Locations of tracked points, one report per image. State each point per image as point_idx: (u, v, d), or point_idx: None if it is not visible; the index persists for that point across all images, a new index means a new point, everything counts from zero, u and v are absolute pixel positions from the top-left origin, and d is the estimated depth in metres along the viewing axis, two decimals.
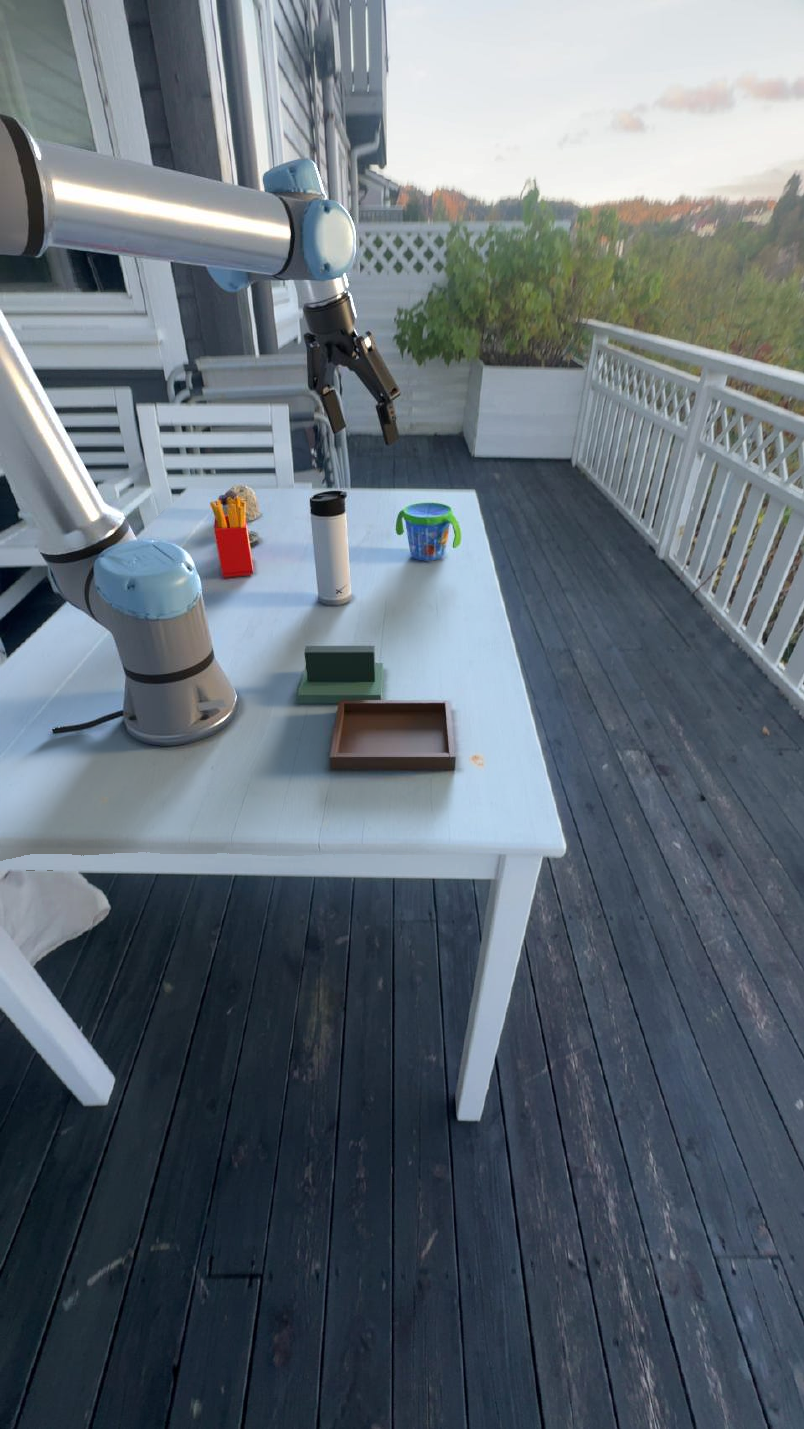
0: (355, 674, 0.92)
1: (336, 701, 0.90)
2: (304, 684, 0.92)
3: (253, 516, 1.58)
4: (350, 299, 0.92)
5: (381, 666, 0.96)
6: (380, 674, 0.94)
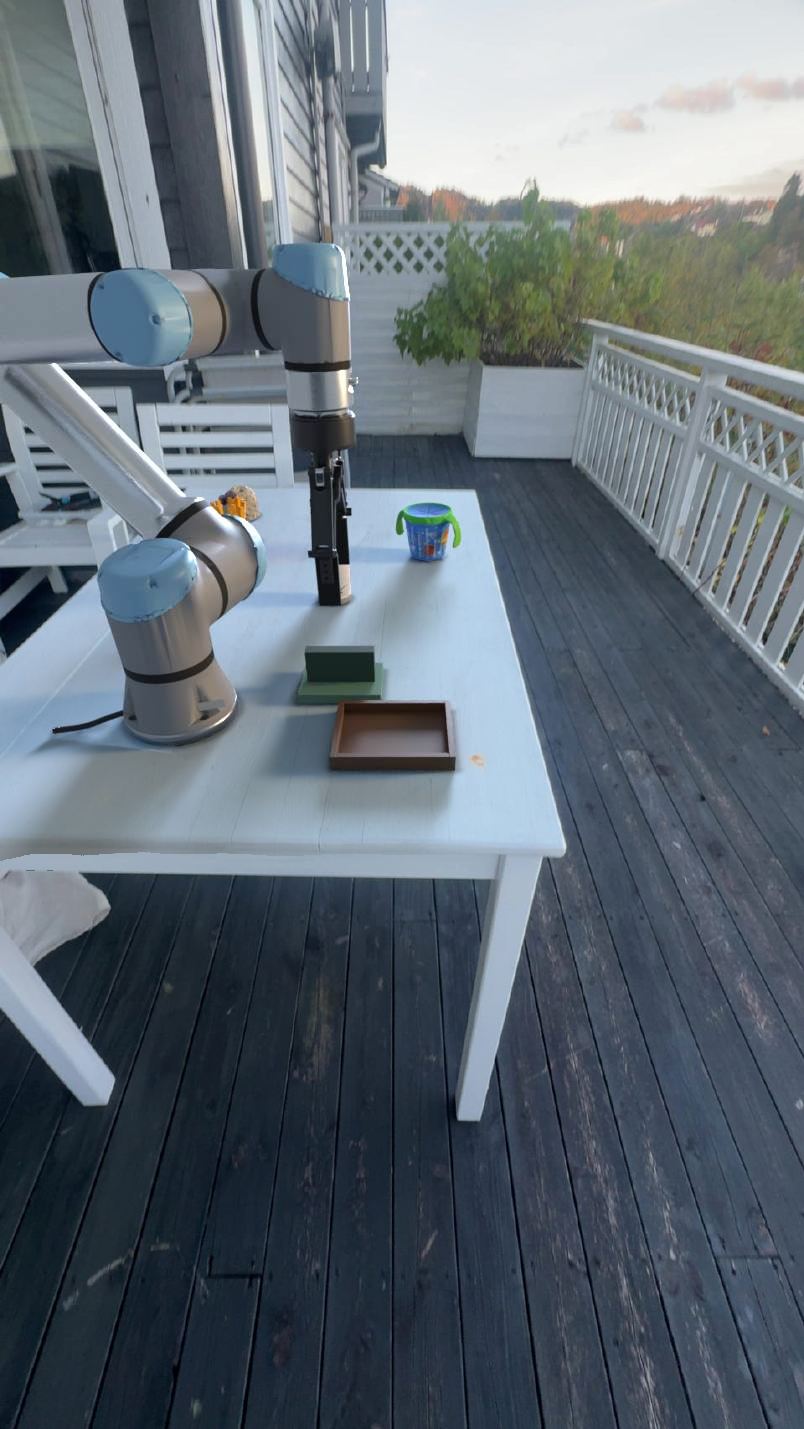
0: (355, 674, 0.92)
1: (336, 701, 0.90)
2: (304, 684, 0.92)
3: (253, 516, 1.58)
4: (336, 424, 0.70)
5: (381, 666, 0.96)
6: (380, 674, 0.94)
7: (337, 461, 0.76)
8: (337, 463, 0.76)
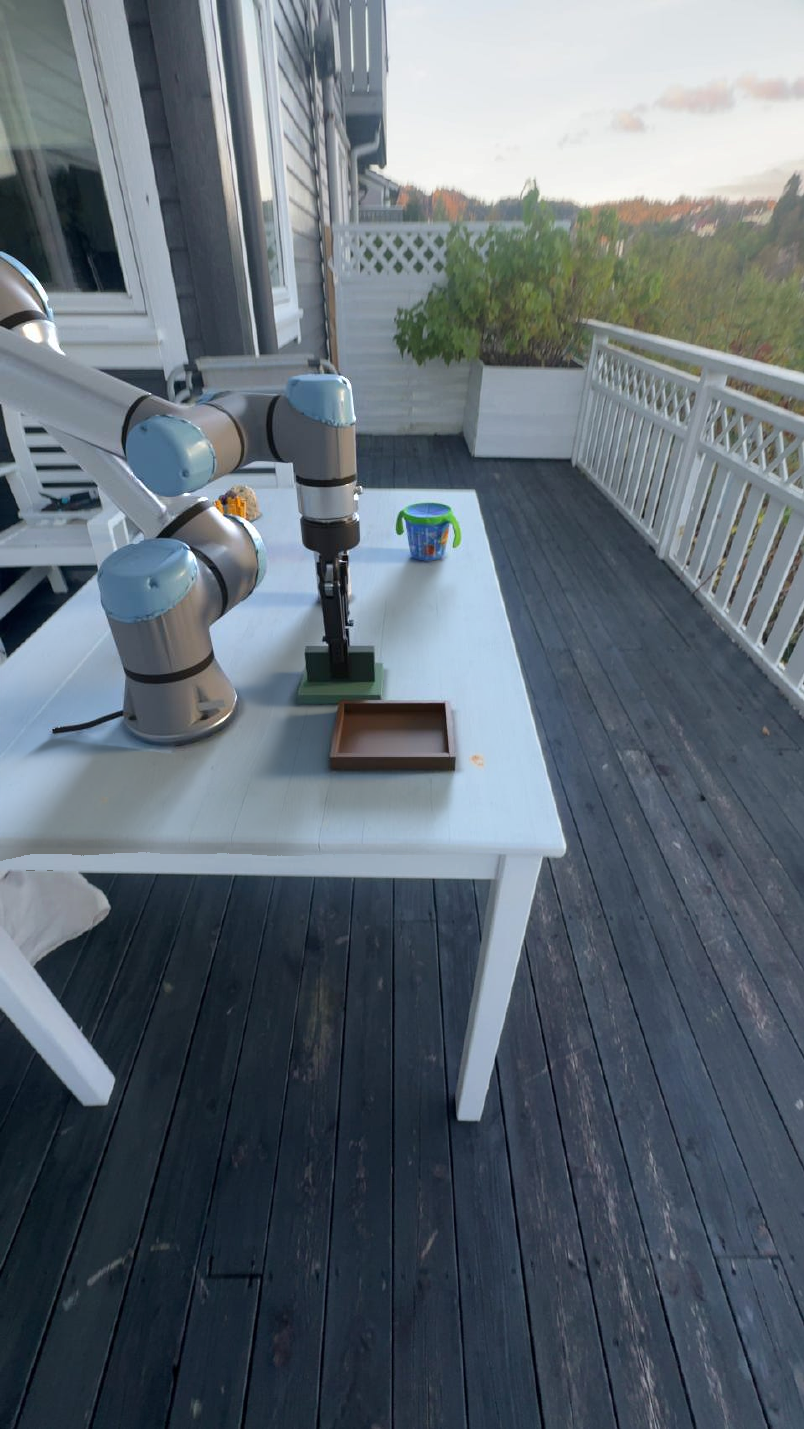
0: (355, 674, 0.92)
1: (336, 701, 0.90)
2: (304, 684, 0.92)
3: (253, 516, 1.58)
4: (342, 529, 0.77)
5: (381, 666, 0.96)
6: (380, 674, 0.94)
7: (343, 554, 0.83)
8: (342, 557, 0.83)
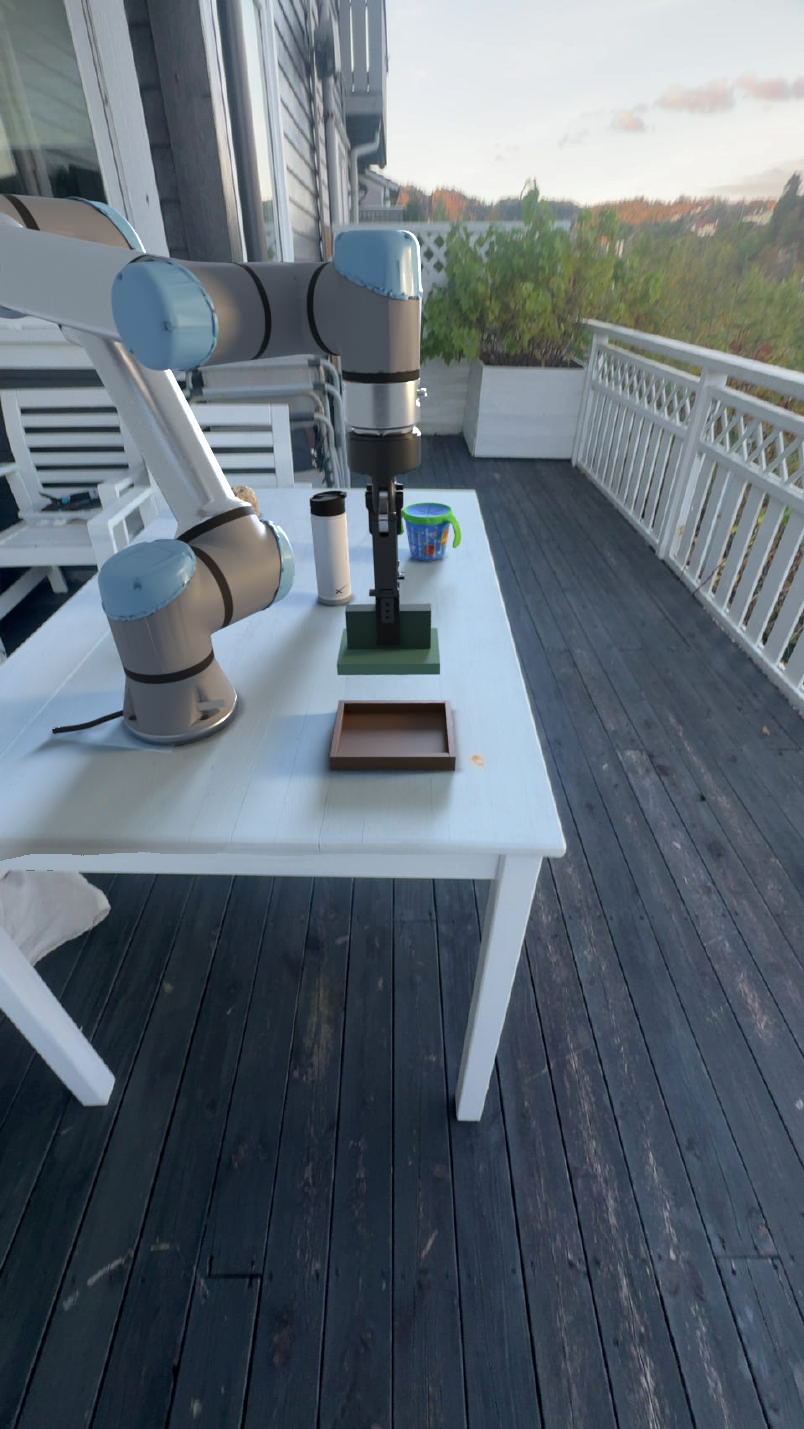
0: (406, 639, 0.74)
1: (384, 672, 0.73)
2: (343, 652, 0.75)
3: None
4: (402, 444, 0.60)
5: (436, 631, 0.79)
6: (436, 640, 0.77)
7: (396, 483, 0.66)
8: (396, 487, 0.66)
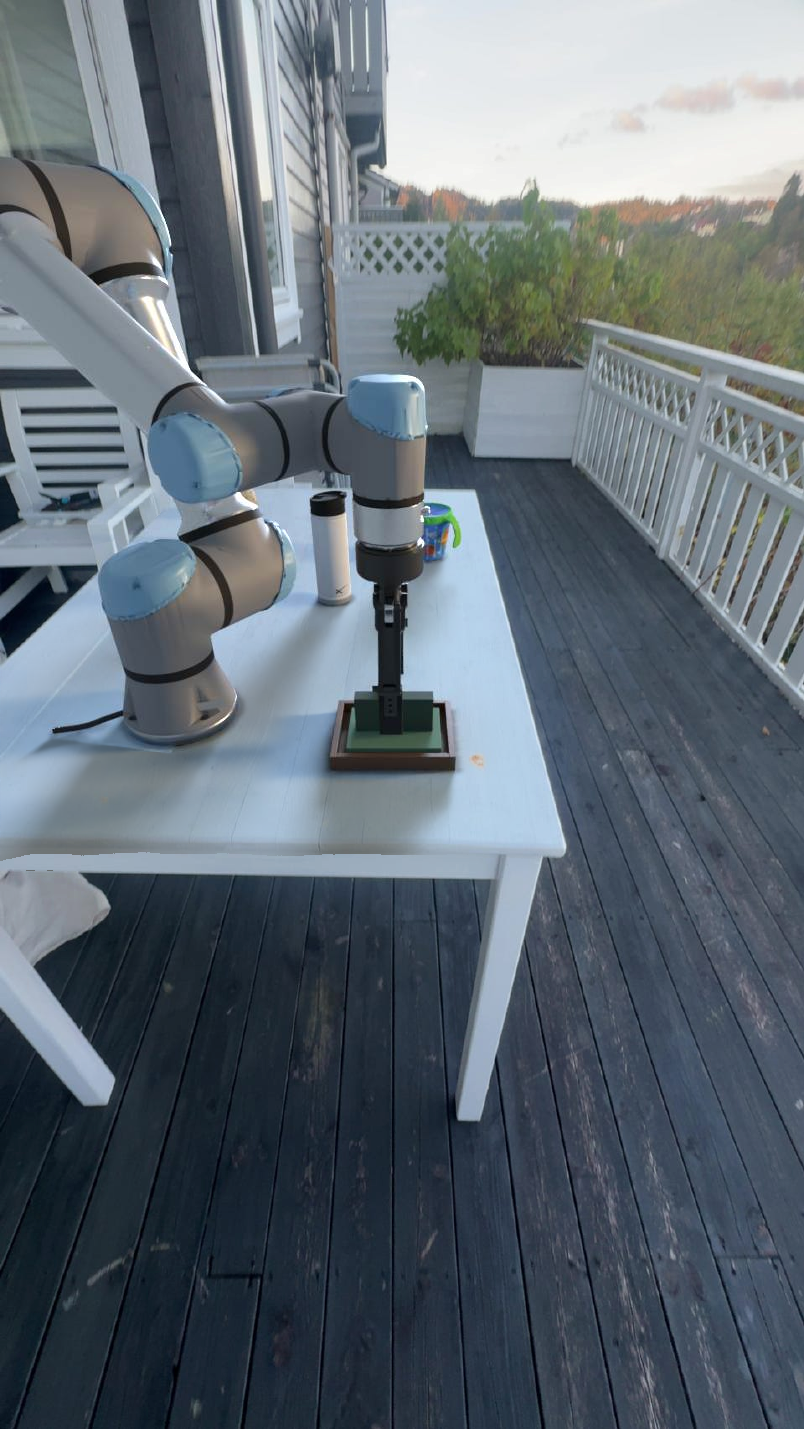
0: (410, 723, 0.80)
1: None
2: (352, 734, 0.81)
3: None
4: (407, 557, 0.65)
5: (437, 712, 0.85)
6: (437, 722, 0.83)
7: (401, 585, 0.72)
8: (401, 587, 0.72)
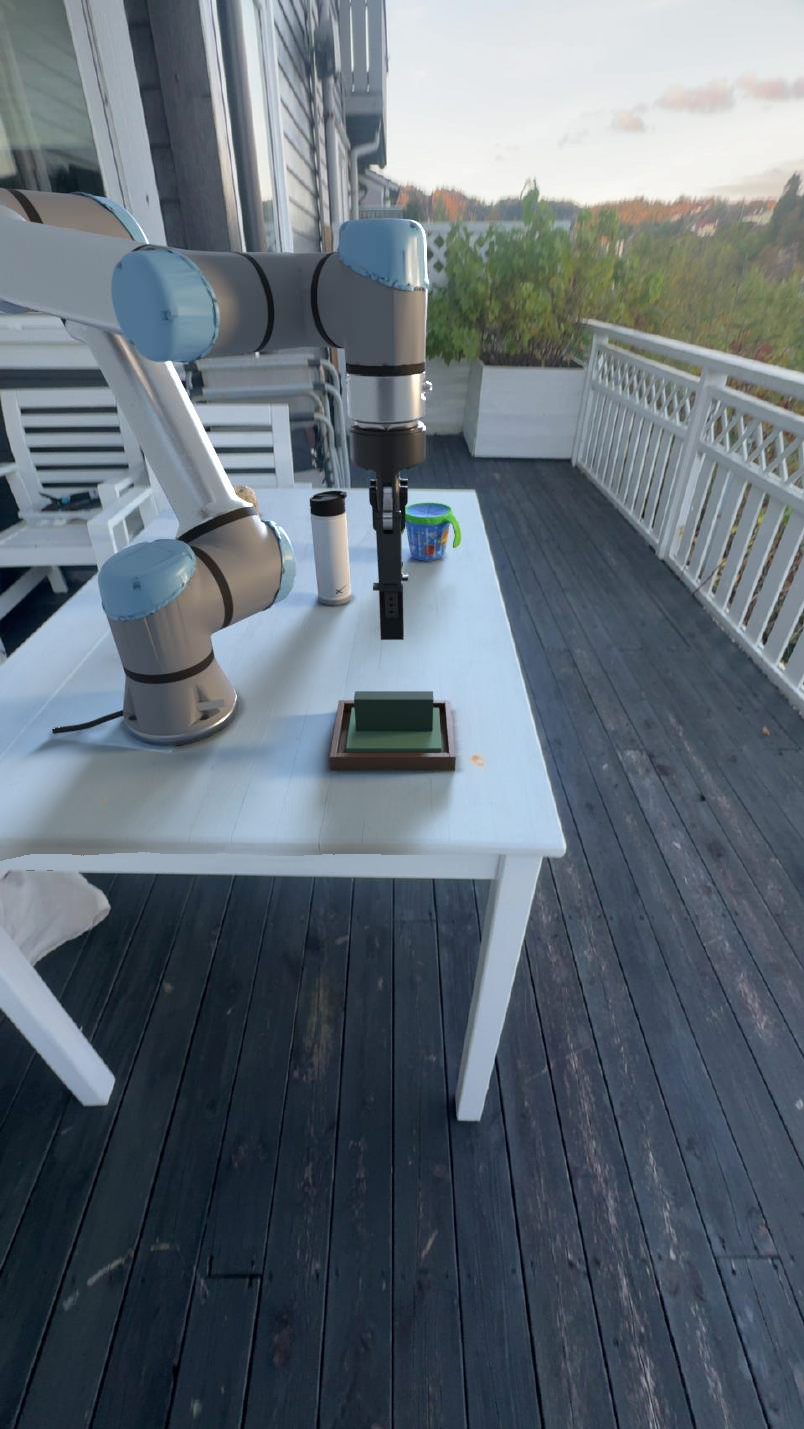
0: (410, 723, 0.80)
1: None
2: (352, 734, 0.81)
3: None
4: (406, 438, 0.59)
5: (437, 712, 0.85)
6: (437, 722, 0.83)
7: None
8: (401, 483, 0.65)
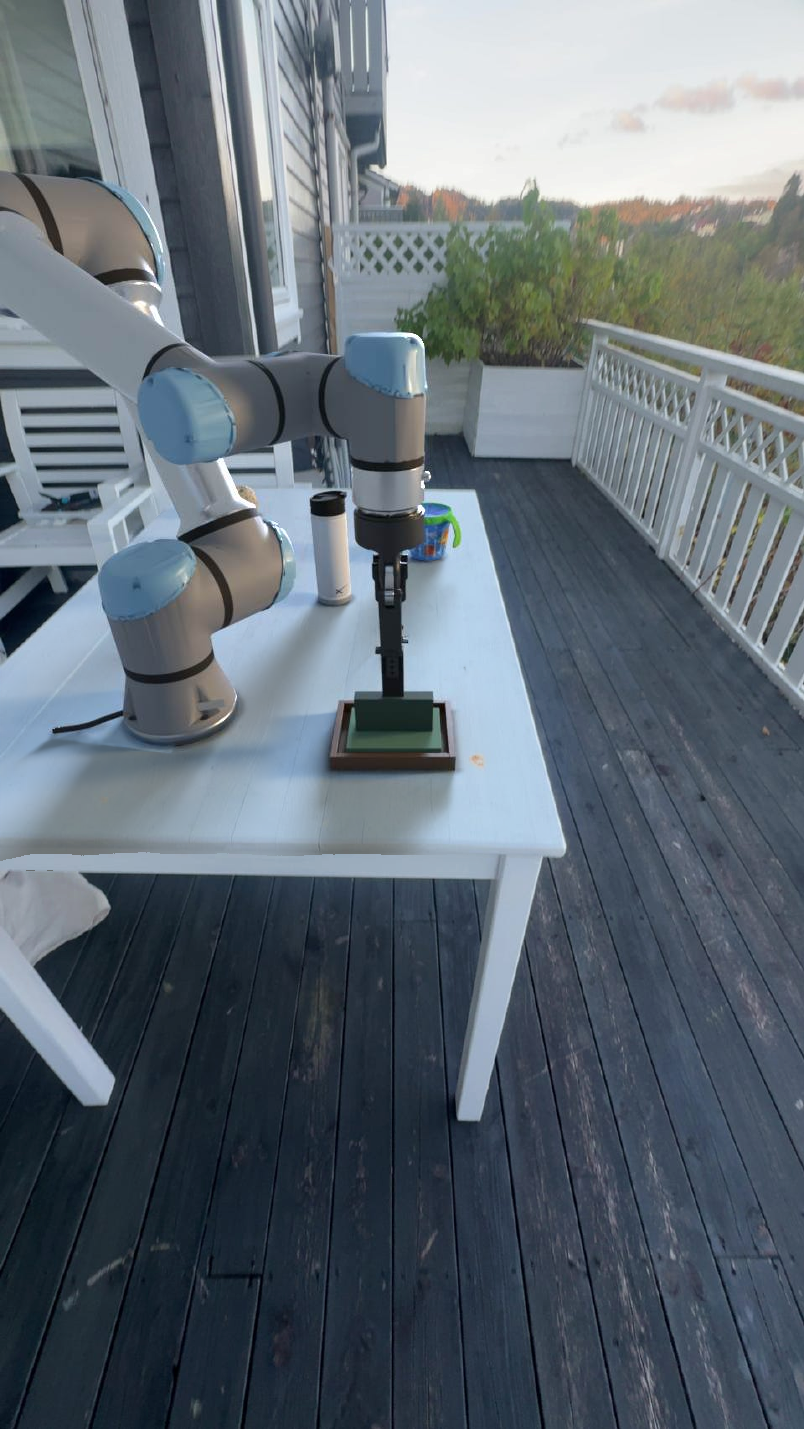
0: (410, 723, 0.80)
1: None
2: (352, 734, 0.81)
3: None
4: (407, 524, 0.63)
5: (437, 712, 0.85)
6: (437, 722, 0.83)
7: (401, 553, 0.70)
8: (401, 558, 0.70)
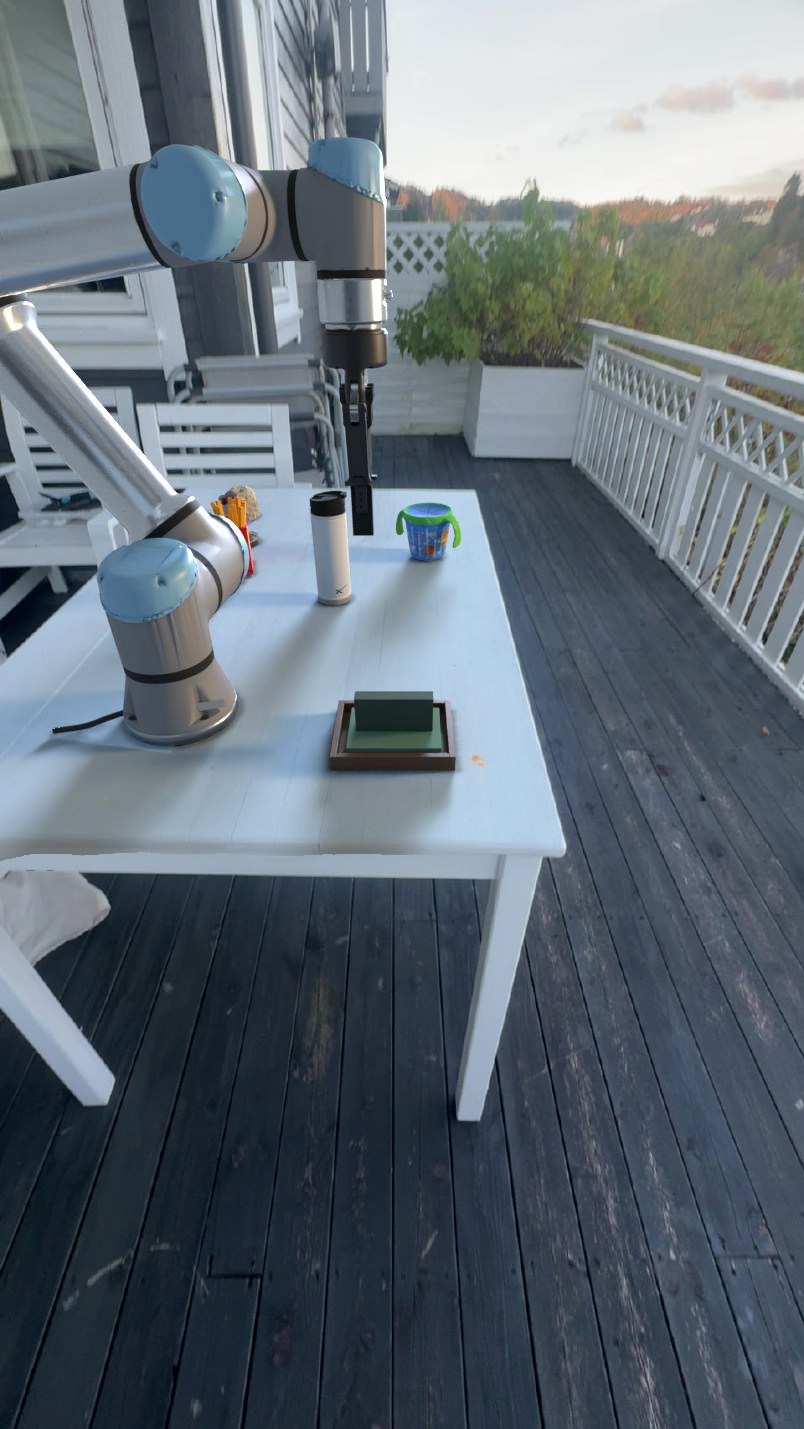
0: (410, 723, 0.80)
1: None
2: (352, 734, 0.81)
3: (253, 516, 1.58)
4: (370, 338, 0.68)
5: (437, 712, 0.85)
6: (437, 722, 0.83)
7: (368, 383, 0.74)
8: (368, 385, 0.74)
